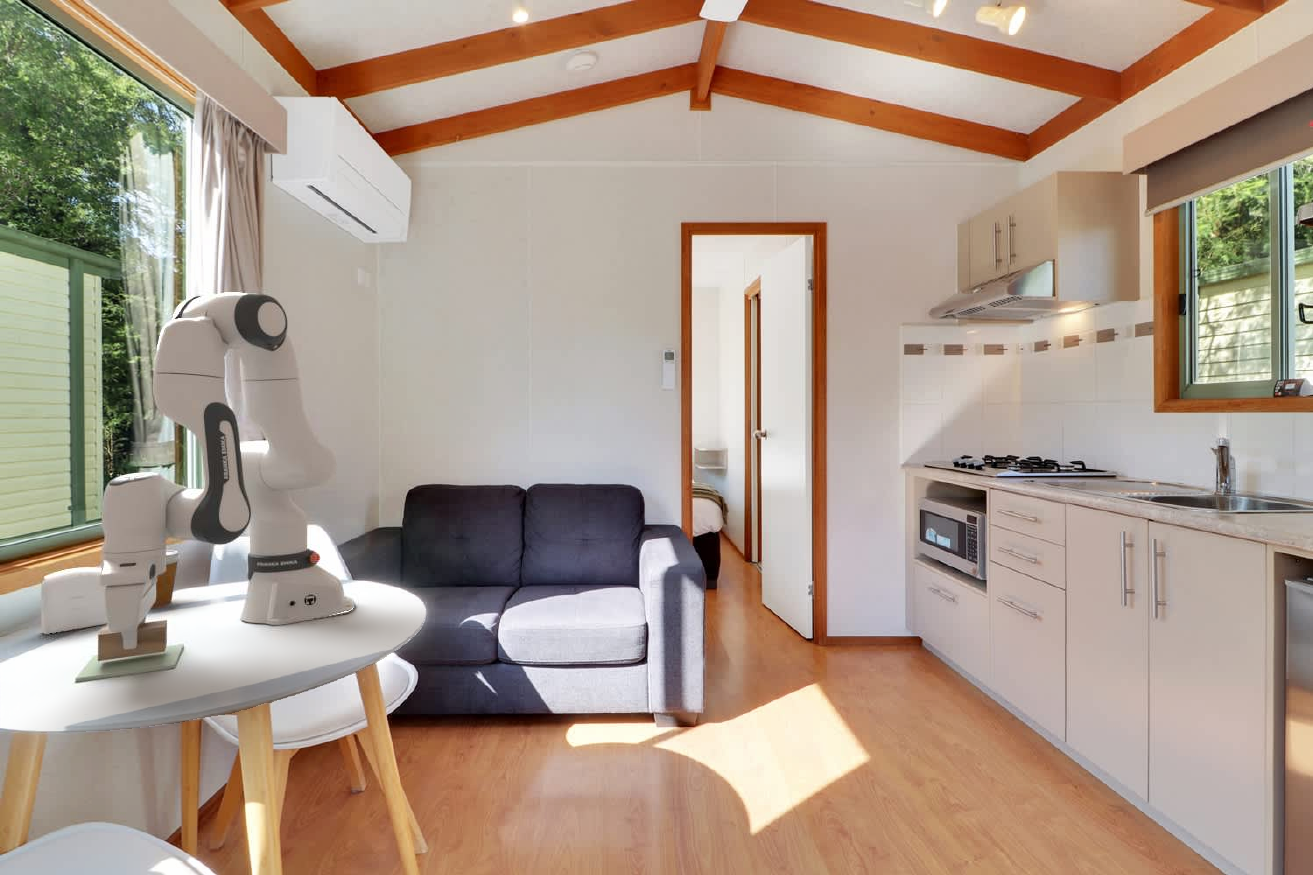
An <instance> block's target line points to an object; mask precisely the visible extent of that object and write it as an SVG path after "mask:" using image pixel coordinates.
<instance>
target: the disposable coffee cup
mask: <svg viewBox="0 0 1313 875" xmlns="http://www.w3.org/2000/svg"><path fill="white" fill-rule="evenodd" d="M180 559H181V556H180V555H179V552H178V551H177V550H171V549H169V550H168V549H166V571H165V572H164V573H162V574H159V575H157V582H156V600H155V603H154V604H153V606H152V607H151V608H150V609H153V608H155V609H156V608H160V607H165V606H168V605H171V603H172V601H173V600H172V598H173V593H174V587H175V580H176V577H177V576H176V575H177V570H178V569H177V568H178V562H179V561H180Z"/></svg>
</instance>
